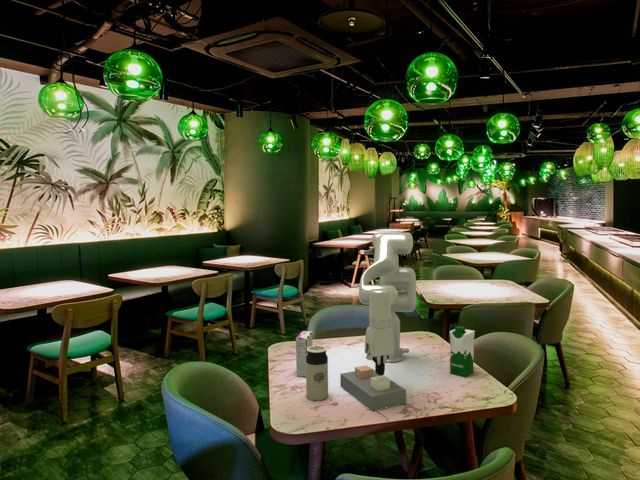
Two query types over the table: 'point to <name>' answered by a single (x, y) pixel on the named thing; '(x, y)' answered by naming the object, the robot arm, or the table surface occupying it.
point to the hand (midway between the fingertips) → (380, 374)
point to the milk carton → (461, 351)
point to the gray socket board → (372, 391)
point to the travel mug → (316, 373)
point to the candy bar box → (302, 351)
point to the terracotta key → (363, 372)
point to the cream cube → (380, 383)
